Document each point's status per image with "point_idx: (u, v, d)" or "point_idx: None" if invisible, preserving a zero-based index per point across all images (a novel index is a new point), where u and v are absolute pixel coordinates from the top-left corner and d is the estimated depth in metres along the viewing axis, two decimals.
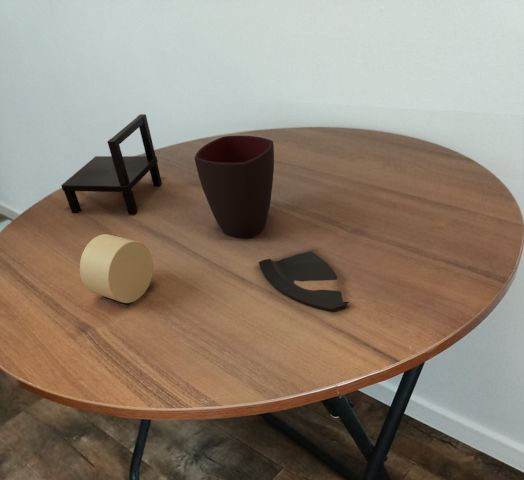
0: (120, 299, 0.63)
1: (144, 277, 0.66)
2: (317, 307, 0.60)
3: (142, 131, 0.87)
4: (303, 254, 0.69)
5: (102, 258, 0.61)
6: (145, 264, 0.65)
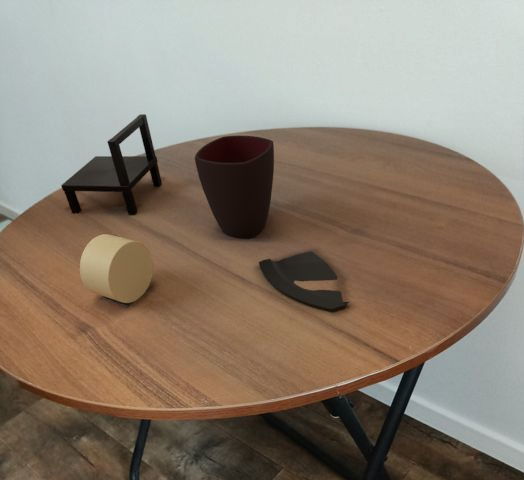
0: (120, 299, 0.63)
1: (144, 277, 0.66)
2: (317, 307, 0.60)
3: (142, 131, 0.87)
4: (303, 254, 0.69)
5: (102, 258, 0.61)
6: (145, 264, 0.65)
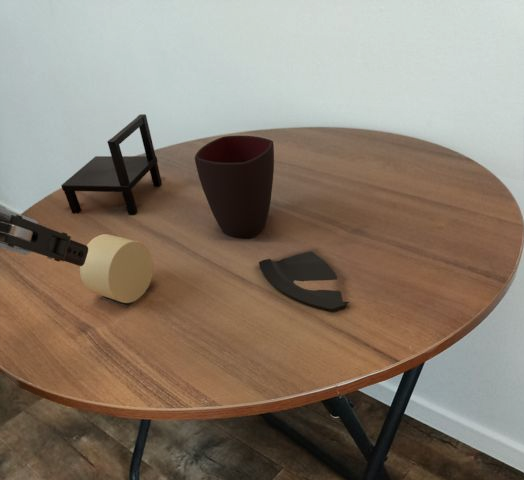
0: (120, 299, 0.63)
1: (144, 277, 0.66)
2: (317, 307, 0.60)
3: (142, 131, 0.87)
4: (303, 254, 0.69)
5: (102, 258, 0.61)
6: (145, 264, 0.65)
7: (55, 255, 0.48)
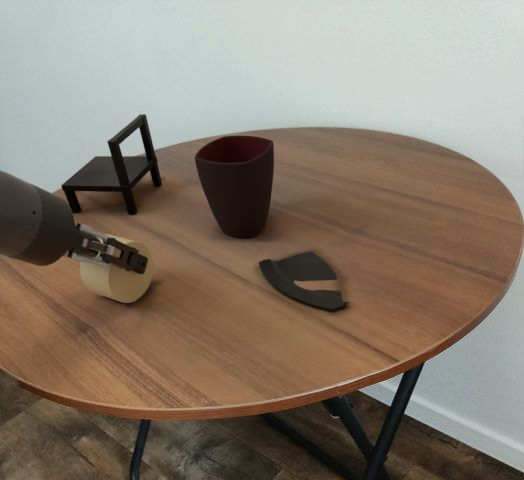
0: (120, 299, 0.63)
1: (144, 277, 0.66)
2: (317, 307, 0.60)
3: (142, 131, 0.87)
4: (303, 254, 0.69)
5: None
6: None
7: None
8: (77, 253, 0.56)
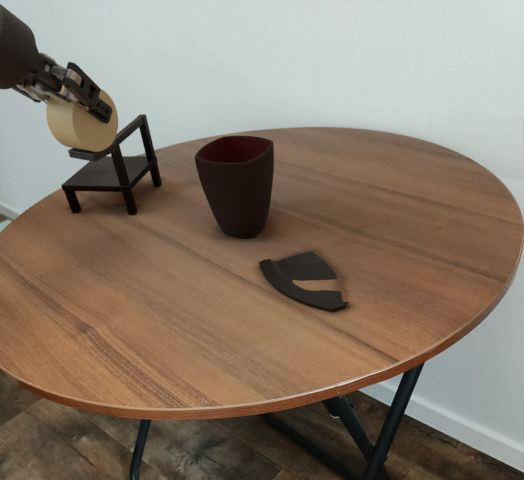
0: (85, 144, 0.66)
1: (109, 129, 0.69)
2: (317, 307, 0.60)
3: (142, 131, 0.87)
4: (303, 254, 0.69)
5: None
6: None
7: None
8: (40, 83, 0.59)
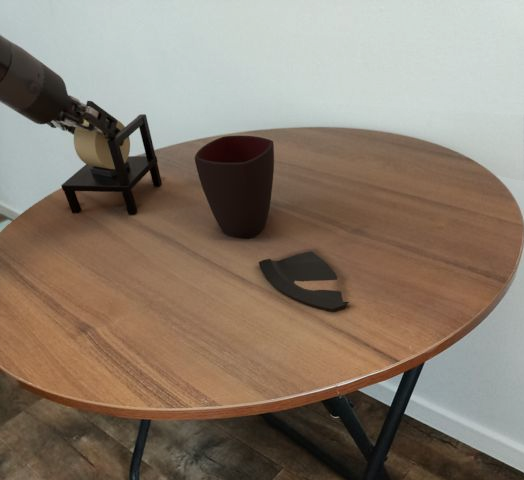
0: (104, 164, 0.83)
1: (123, 151, 0.86)
2: (317, 307, 0.60)
3: (142, 131, 0.87)
4: (303, 254, 0.69)
5: None
6: None
7: (109, 130, 0.78)
8: (68, 118, 0.77)
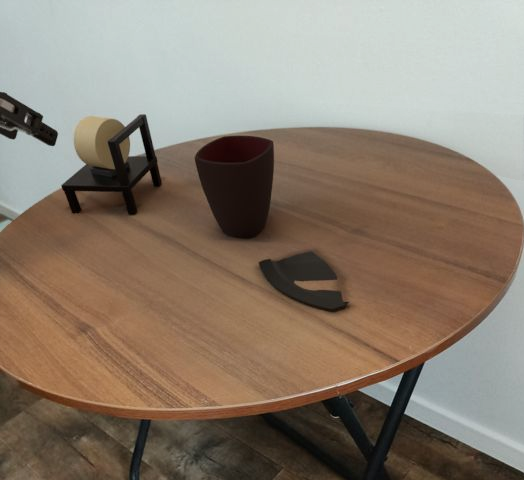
0: (104, 164, 0.83)
1: (123, 151, 0.86)
2: (317, 307, 0.60)
3: (142, 131, 0.87)
4: (303, 254, 0.69)
5: (90, 129, 0.81)
6: None
7: (31, 127, 0.66)
8: None
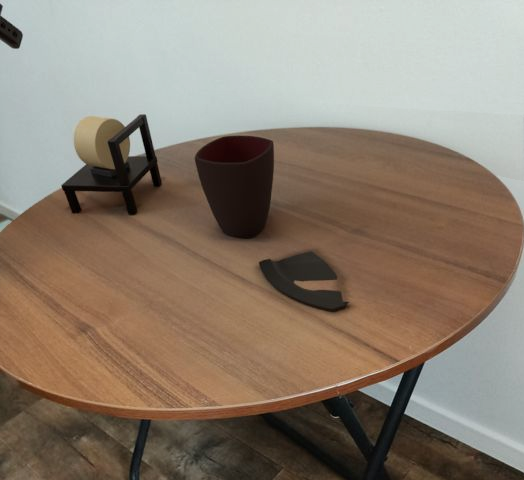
0: (104, 164, 0.83)
1: (123, 151, 0.86)
2: (317, 307, 0.60)
3: (142, 131, 0.87)
4: (303, 254, 0.69)
5: (90, 129, 0.81)
6: None
7: None
8: None
